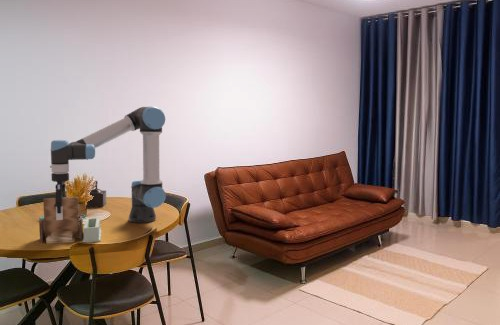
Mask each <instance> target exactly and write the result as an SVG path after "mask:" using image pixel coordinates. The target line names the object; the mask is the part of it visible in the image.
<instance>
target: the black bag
mask: <svg viewBox="0 0 500 325" xmlns="http://www.w3.org/2000/svg"><path fill="white" fill-rule="evenodd" d="M92 187H93V188H92V190H91V189H90V191H91V192H90V195H92V196H94V197H93V199H92V200H90V201H88V202H87V201H86V208H104V207H105V206H106V205H107V190H101V189H100V188H98V180H95V184H94V185H93V186H92Z"/></svg>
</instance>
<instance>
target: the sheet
mask: <svg viewBox="0 0 500 325" xmlns="http://www.w3.org/2000/svg"><path fill="white" fill-rule="evenodd" d="M55 201H56V197H44V198H43V201H42V202H43V216H44V229H45V239H44V241H46V238H47V237H48V236H50V235H51V234H52V232H57V231H73V237H74V236H76V239H80V237H79V215H80V214H79V213H80V212H79V210H80V208H79V196H68V197H67V196H66V197H62V206H63V220H56V207H54V205H55Z"/></svg>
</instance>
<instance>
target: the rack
mask: <svg viewBox="0 0 500 325" xmlns="http://www.w3.org/2000/svg"><path fill="white" fill-rule="evenodd" d="M83 220H84V219H82V216H80V218H79V241H82V240H83V236H84V224H83ZM38 223H39V224H38V225H39V227H38V228H39V229H38V230H39V243H40V244H42V243H44V241H45V229H44V218H42V219H41V220H40V219H39V222H38Z"/></svg>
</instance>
